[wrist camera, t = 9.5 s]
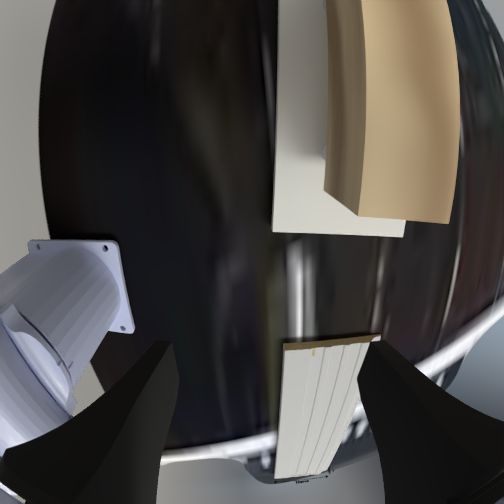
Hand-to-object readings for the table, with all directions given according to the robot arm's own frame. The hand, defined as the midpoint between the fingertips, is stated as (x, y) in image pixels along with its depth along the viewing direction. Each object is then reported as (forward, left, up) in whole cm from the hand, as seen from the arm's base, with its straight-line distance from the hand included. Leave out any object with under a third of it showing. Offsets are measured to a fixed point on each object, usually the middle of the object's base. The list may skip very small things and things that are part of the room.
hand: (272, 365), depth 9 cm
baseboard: (+8, -22, -11) cm, 26 cm away
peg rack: (+5, +12, -10) cm, 16 cm away
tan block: (+5, +12, -7) cm, 15 cm away
